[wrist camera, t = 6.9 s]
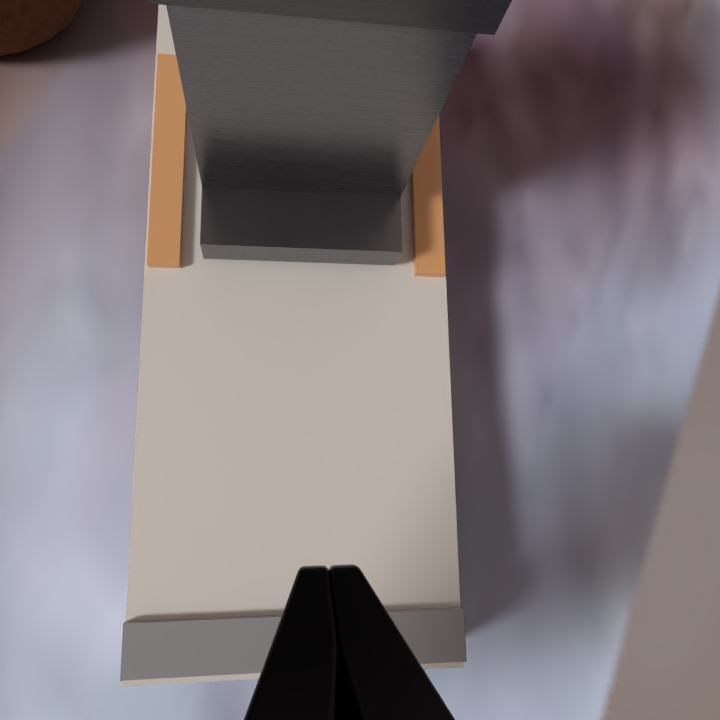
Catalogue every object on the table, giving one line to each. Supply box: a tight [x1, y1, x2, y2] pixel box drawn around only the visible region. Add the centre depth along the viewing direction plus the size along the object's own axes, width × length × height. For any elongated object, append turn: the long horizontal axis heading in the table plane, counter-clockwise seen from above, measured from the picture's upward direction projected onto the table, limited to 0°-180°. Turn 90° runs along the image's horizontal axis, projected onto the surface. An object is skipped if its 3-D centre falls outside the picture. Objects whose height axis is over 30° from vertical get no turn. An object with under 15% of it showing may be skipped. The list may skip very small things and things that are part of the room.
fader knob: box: [149, 0, 512, 265], centre depth 14 cm, size 6×5×8 cm
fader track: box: [120, 4, 466, 686], centre depth 18 cm, size 18×8×2 cm, turn 1°
